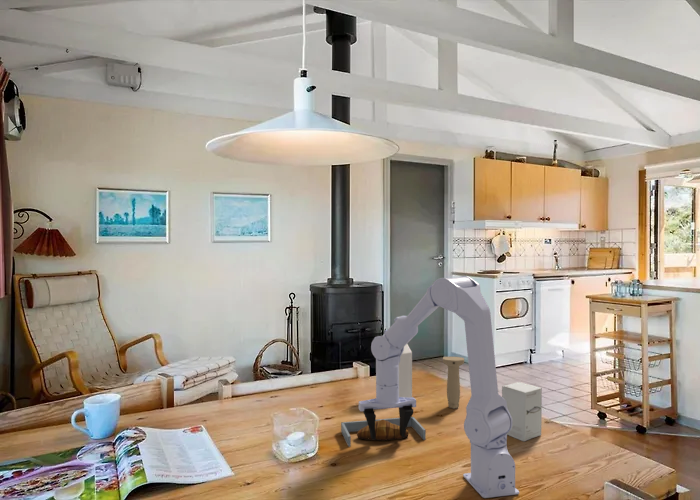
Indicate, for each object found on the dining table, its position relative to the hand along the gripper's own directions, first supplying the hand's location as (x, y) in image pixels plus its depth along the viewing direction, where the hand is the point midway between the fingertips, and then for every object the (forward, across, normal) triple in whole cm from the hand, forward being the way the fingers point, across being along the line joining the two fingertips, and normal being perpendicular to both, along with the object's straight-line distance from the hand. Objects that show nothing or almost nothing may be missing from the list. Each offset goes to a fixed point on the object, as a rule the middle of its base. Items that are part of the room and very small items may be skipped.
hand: (387, 436), depth 121 cm
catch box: (+2, 0, -5) cm, 5 cm away
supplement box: (+2, -36, +2) cm, 36 cm away
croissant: (+2, 0, -4) cm, 4 cm away
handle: (+2, -27, -21) cm, 34 cm away
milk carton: (+2, -13, -34) cm, 36 cm away
